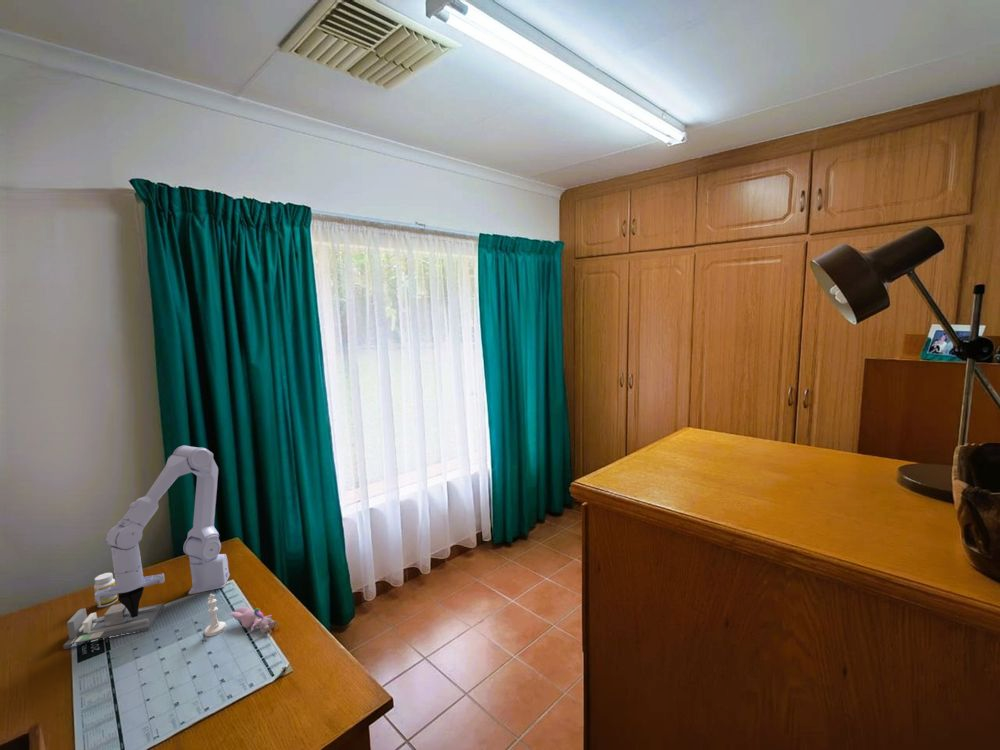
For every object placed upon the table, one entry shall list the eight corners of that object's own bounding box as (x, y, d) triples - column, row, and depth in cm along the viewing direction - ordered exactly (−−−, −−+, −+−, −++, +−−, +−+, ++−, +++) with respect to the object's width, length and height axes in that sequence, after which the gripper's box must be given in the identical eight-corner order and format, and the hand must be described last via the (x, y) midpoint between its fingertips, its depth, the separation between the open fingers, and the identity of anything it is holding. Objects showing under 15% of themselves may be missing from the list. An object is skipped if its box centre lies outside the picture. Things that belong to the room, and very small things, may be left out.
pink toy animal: (284, 628, 119) (243, 610, 124) (285, 608, 118) (243, 590, 124) (264, 644, 114) (222, 624, 119) (265, 623, 113) (222, 604, 118)
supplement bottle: (122, 598, 135) (118, 571, 134) (107, 608, 130) (103, 580, 130) (107, 598, 136) (103, 571, 135) (92, 607, 131) (88, 580, 130)
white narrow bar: (97, 621, 122) (96, 612, 122) (83, 638, 115) (82, 628, 115) (92, 623, 122) (90, 613, 121) (78, 639, 115) (76, 629, 115)
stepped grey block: (131, 614, 124) (129, 601, 124) (124, 624, 120) (122, 611, 120) (97, 621, 122) (95, 608, 122) (89, 632, 118) (87, 618, 117)
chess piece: (230, 626, 119) (226, 590, 118) (212, 638, 115) (207, 601, 114) (218, 621, 121) (214, 587, 120) (200, 633, 117) (195, 597, 116)
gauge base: (164, 606, 130) (161, 588, 129) (149, 629, 120) (146, 610, 119) (86, 623, 124) (83, 604, 123) (63, 649, 114) (60, 628, 113)
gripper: (162, 554, 129) (168, 598, 130) (95, 571, 121) (103, 618, 122) (160, 564, 123) (167, 610, 124) (90, 582, 115) (97, 632, 116)
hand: (135, 615), depth 123 cm, fingers closed
